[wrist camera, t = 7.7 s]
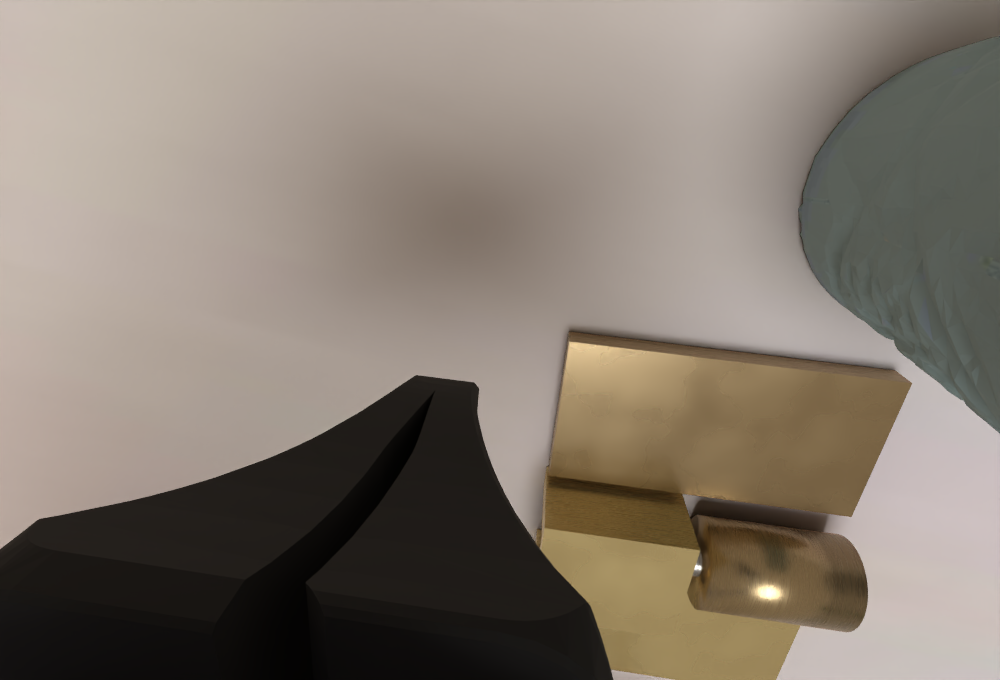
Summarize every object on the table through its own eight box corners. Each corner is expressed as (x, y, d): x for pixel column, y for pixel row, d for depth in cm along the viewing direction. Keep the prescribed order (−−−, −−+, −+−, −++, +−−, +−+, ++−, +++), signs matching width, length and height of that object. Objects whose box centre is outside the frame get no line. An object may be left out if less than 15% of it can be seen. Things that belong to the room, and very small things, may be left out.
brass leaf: (521, 636, 27) (515, 712, 23) (546, 466, 23) (544, 528, 19) (761, 673, 26) (792, 757, 23) (834, 505, 22) (885, 577, 18)
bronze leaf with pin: (537, 539, 24) (533, 606, 21) (568, 331, 20) (570, 373, 17) (805, 578, 23) (845, 653, 20) (895, 370, 19) (964, 422, 16)
